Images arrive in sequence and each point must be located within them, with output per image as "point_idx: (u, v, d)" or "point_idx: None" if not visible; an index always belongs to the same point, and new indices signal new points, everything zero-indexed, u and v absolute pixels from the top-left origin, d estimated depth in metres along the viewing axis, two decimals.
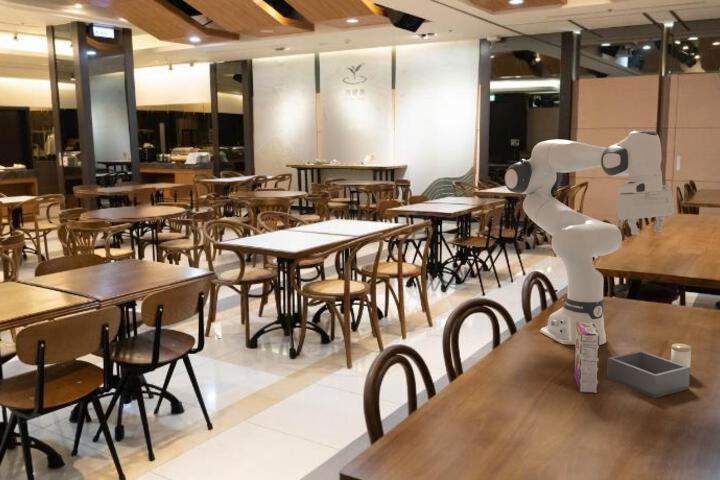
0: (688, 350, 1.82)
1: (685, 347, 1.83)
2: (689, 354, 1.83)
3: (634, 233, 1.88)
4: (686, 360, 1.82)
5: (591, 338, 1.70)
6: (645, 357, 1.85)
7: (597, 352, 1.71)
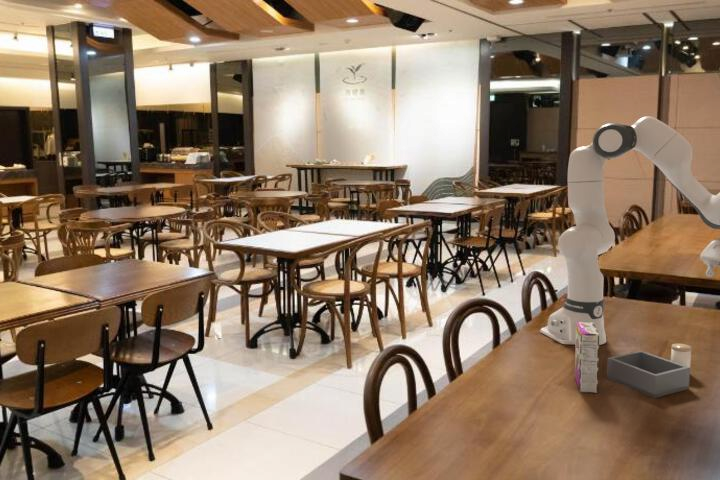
0: (688, 350, 1.82)
1: (685, 347, 1.83)
2: (689, 354, 1.83)
3: None
4: (686, 360, 1.82)
5: (590, 338, 1.70)
6: (645, 357, 1.85)
7: (597, 352, 1.71)
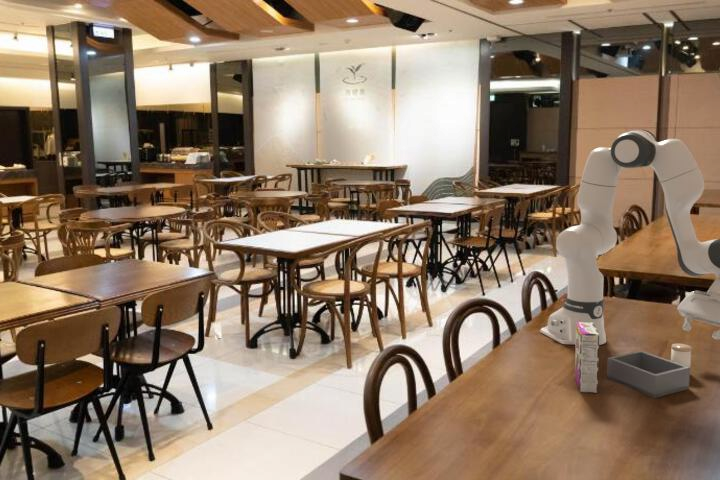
0: (688, 350, 1.82)
1: (685, 347, 1.83)
2: (689, 354, 1.83)
3: (718, 338, 1.82)
4: (686, 360, 1.82)
5: (590, 338, 1.70)
6: (645, 357, 1.85)
7: (597, 352, 1.71)
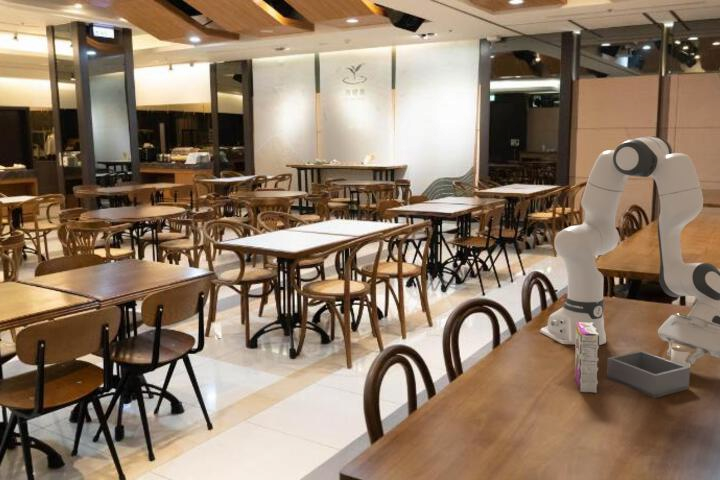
0: (688, 350, 1.82)
1: (685, 347, 1.83)
2: (689, 354, 1.83)
3: (692, 362, 1.81)
4: None
5: (590, 338, 1.70)
6: (645, 357, 1.85)
7: (597, 352, 1.71)
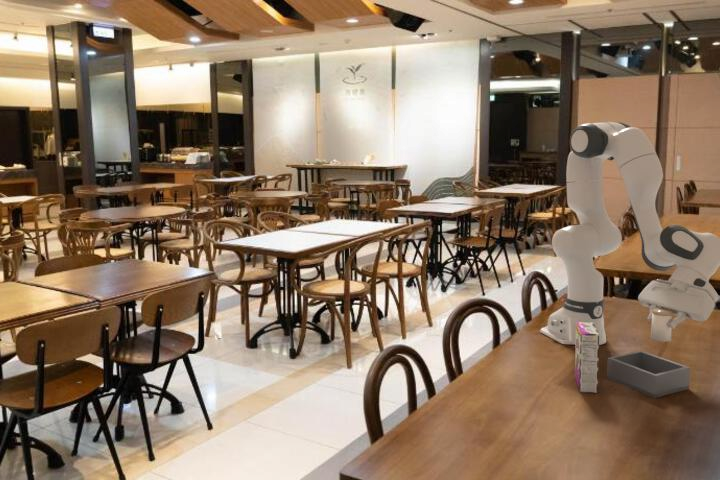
0: (669, 314, 1.75)
1: (666, 311, 1.76)
2: (670, 318, 1.76)
3: (673, 326, 1.75)
4: (667, 325, 1.76)
5: (590, 338, 1.70)
6: (645, 357, 1.85)
7: (597, 352, 1.71)
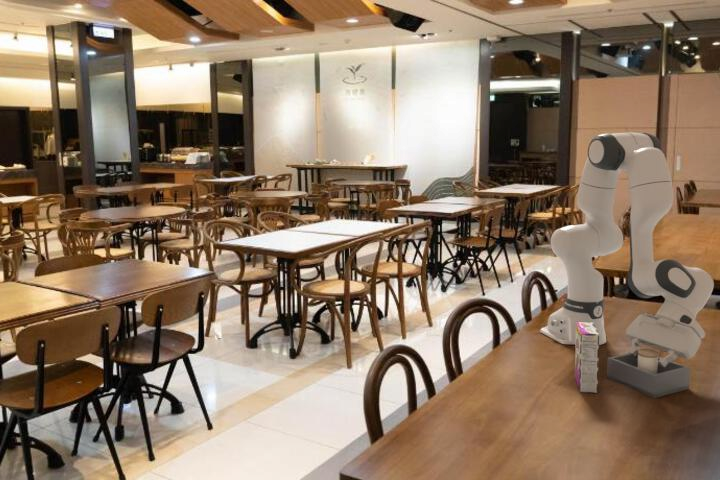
0: (655, 356, 1.75)
1: (652, 353, 1.76)
2: (656, 360, 1.75)
3: (664, 365, 1.72)
4: (652, 367, 1.75)
5: (590, 338, 1.70)
6: None
7: (597, 352, 1.71)
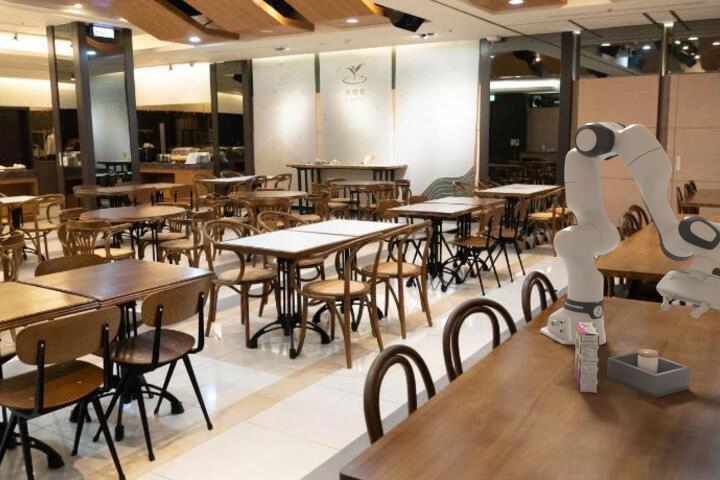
0: (655, 356, 1.75)
1: (652, 353, 1.76)
2: (656, 360, 1.75)
3: (696, 316, 1.76)
4: (652, 367, 1.75)
5: (590, 338, 1.70)
6: None
7: (597, 352, 1.71)
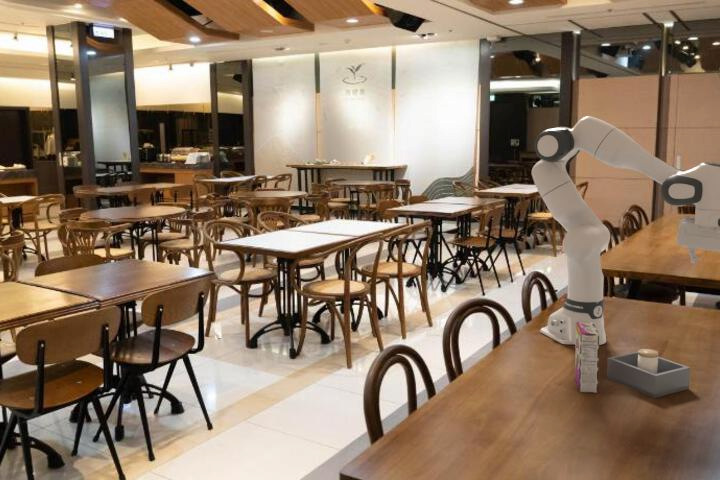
0: (655, 356, 1.75)
1: (652, 353, 1.76)
2: (656, 360, 1.75)
3: None
4: (652, 367, 1.75)
5: (590, 338, 1.70)
6: None
7: (597, 352, 1.71)
